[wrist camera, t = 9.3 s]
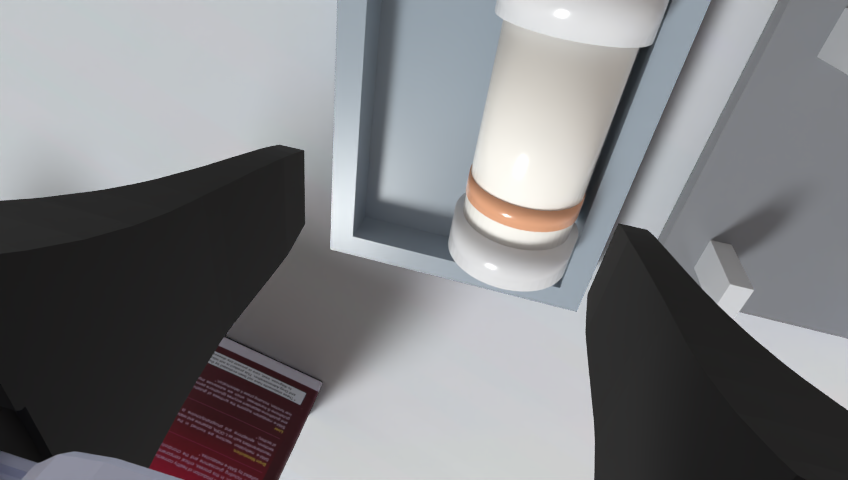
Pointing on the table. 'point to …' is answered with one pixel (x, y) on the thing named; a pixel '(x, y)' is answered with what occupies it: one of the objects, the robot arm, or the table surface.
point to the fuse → (544, 133)
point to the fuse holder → (776, 179)
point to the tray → (463, 131)
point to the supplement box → (238, 419)
